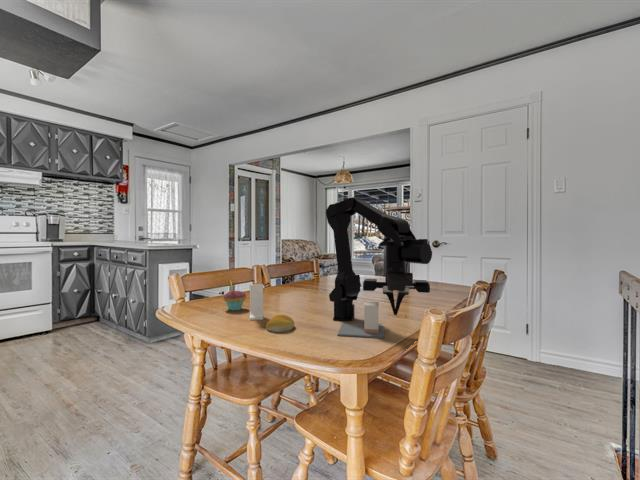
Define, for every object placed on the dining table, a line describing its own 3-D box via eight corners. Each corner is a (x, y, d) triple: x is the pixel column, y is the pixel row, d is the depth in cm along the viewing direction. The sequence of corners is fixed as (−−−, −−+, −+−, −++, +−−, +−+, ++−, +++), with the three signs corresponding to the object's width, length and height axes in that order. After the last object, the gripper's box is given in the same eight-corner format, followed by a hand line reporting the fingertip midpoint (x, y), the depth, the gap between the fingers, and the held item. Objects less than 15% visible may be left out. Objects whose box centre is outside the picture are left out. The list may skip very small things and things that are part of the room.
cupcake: (219, 311, 127) (219, 279, 127) (229, 306, 135) (229, 276, 135) (241, 311, 125) (241, 280, 125) (249, 306, 134) (249, 276, 134)
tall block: (364, 332, 98) (364, 305, 98) (365, 327, 103) (365, 301, 103) (378, 333, 97) (378, 305, 97) (378, 328, 102) (378, 302, 102)
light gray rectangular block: (249, 320, 114) (249, 284, 114) (250, 315, 120) (249, 282, 119) (263, 319, 115) (263, 284, 114) (263, 315, 121) (263, 281, 120)
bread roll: (263, 332, 100) (263, 319, 100) (272, 324, 109) (272, 312, 109) (289, 334, 99) (289, 320, 99) (297, 325, 108) (297, 313, 108)
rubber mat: (337, 335, 96) (337, 334, 96) (342, 325, 107) (342, 323, 107) (383, 338, 94) (383, 336, 94) (383, 327, 105) (383, 325, 105)
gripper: (361, 263, 92) (361, 320, 92) (433, 264, 89) (432, 323, 89) (364, 260, 103) (363, 310, 103) (427, 261, 100) (427, 313, 100)
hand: (395, 314), depth 99 cm, fingers closed
